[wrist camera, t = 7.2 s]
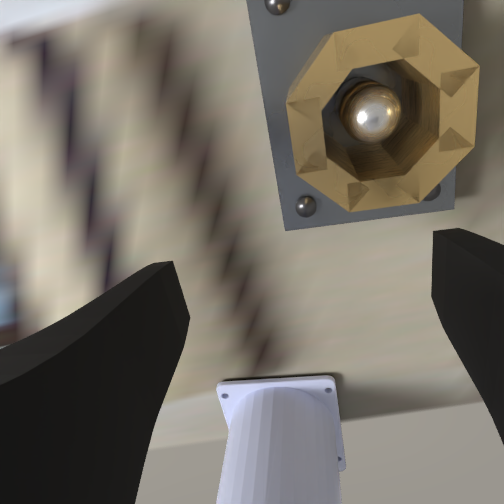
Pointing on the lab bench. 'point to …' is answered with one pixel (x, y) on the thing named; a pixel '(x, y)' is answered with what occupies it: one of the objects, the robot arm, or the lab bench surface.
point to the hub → (411, 123)
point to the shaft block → (338, 95)
